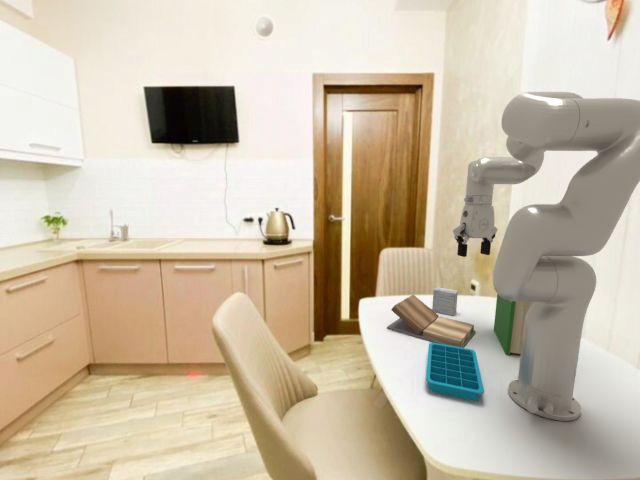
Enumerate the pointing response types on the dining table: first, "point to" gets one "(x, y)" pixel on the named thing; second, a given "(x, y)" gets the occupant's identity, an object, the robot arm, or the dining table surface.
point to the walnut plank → (415, 313)
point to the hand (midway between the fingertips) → (473, 255)
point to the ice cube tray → (454, 371)
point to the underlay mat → (405, 329)
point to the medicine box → (445, 301)
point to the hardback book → (510, 323)
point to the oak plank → (449, 331)
